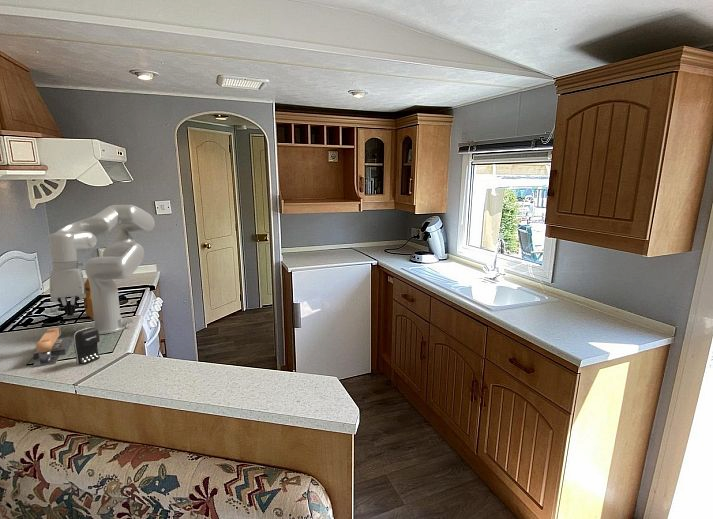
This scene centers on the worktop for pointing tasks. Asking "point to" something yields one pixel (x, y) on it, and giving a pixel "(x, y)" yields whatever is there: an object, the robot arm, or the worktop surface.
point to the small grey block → (45, 359)
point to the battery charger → (86, 345)
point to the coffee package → (88, 300)
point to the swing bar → (48, 339)
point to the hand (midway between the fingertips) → (70, 315)
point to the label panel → (57, 347)
